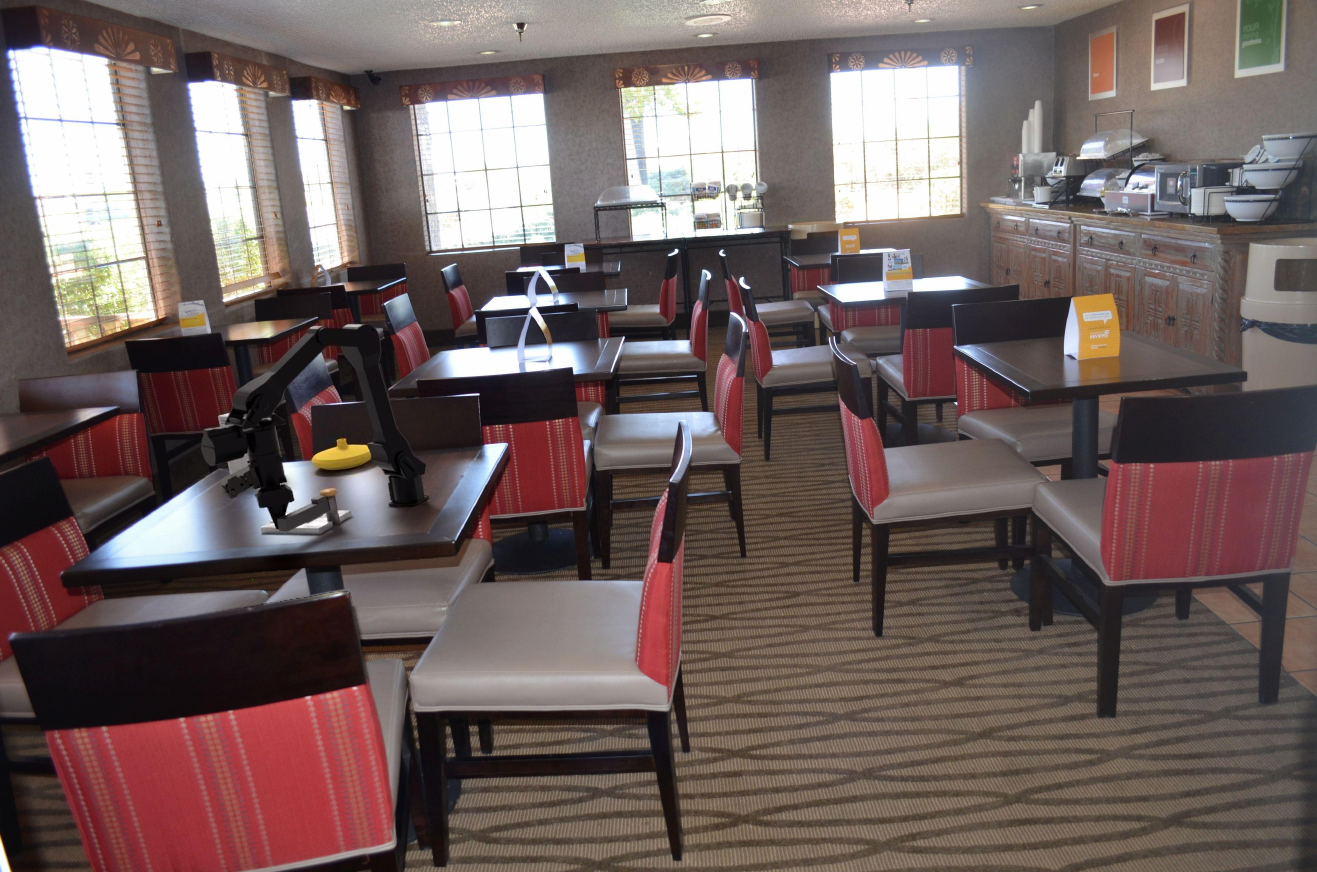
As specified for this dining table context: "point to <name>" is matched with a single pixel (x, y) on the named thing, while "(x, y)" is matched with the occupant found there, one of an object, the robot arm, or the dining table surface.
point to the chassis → (315, 521)
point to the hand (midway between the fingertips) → (279, 528)
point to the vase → (342, 456)
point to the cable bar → (306, 511)
